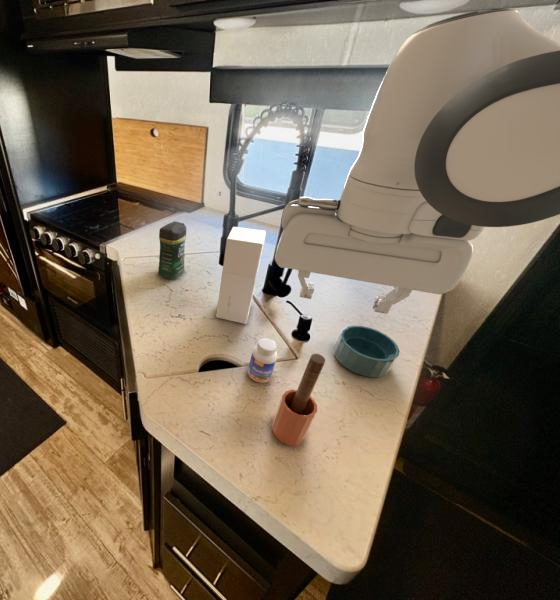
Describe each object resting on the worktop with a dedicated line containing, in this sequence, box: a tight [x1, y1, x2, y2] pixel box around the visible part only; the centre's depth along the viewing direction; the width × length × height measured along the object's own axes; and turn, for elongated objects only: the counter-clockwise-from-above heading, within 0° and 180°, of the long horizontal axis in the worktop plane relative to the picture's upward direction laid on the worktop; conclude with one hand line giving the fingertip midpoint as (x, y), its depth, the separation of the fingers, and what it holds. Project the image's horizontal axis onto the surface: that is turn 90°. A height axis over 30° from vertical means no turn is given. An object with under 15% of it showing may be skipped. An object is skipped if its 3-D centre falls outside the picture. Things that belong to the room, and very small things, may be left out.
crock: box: [271, 389, 318, 447], centre depth 59 cm, size 6×6×9 cm
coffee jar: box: [158, 220, 187, 280], centre depth 107 cm, size 10×8×19 cm
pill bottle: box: [247, 337, 278, 384], centre depth 71 cm, size 5×5×10 cm
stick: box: [290, 353, 326, 415], centre depth 56 cm, size 4×2×20 cm, turn 69°
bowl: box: [333, 325, 400, 378], centre depth 76 cm, size 12×12×6 cm
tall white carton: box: [216, 226, 267, 325], centre depth 86 cm, size 9×9×25 cm
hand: (340, 303), depth 44 cm, fingers open, 8 cm apart
